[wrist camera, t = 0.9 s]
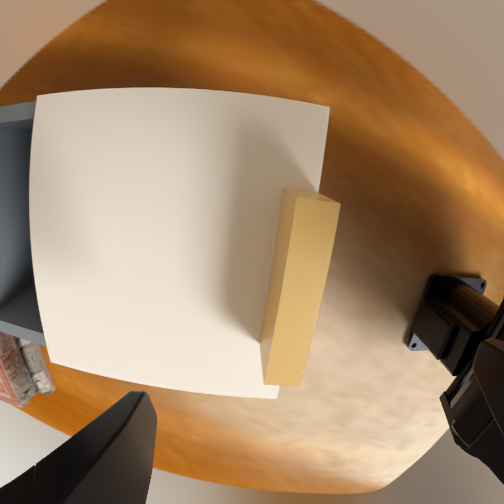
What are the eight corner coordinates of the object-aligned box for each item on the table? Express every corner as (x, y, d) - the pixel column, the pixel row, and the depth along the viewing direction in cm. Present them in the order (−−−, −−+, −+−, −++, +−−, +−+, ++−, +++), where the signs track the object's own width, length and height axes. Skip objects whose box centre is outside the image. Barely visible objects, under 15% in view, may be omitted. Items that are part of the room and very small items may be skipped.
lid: (323, 110, 10) (355, 93, 7) (275, 387, 14) (282, 439, 10) (47, 98, 9) (-2, 87, 6) (57, 353, 13) (27, 392, 10)
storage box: (189, 116, 17) (160, 93, 10) (174, 305, 20) (148, 369, 13) (39, 118, 16) (-30, 113, 9) (39, 282, 19) (-15, 325, 13)
